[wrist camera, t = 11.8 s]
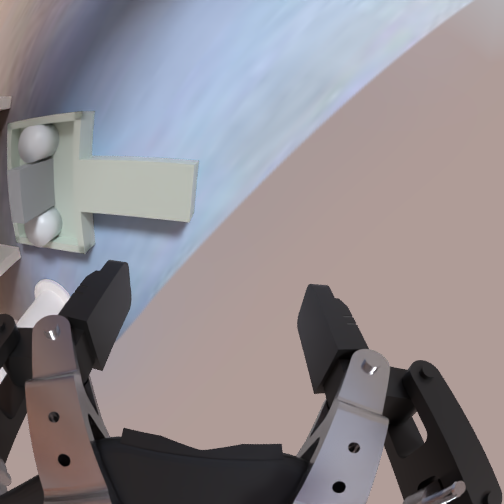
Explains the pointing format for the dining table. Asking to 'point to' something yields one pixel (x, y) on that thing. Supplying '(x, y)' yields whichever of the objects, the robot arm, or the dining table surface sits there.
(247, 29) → the dining table surface
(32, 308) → the candle
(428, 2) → the dining table surface
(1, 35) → the dining table surface
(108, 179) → the tray
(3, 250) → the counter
